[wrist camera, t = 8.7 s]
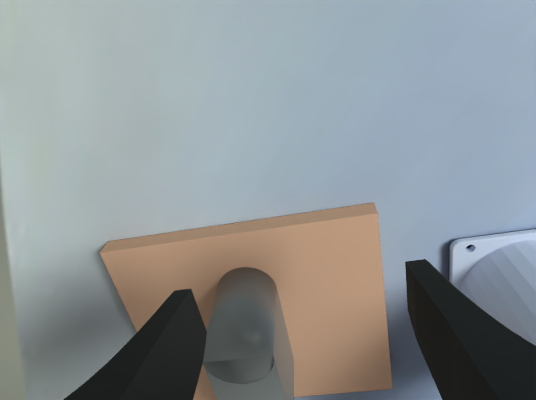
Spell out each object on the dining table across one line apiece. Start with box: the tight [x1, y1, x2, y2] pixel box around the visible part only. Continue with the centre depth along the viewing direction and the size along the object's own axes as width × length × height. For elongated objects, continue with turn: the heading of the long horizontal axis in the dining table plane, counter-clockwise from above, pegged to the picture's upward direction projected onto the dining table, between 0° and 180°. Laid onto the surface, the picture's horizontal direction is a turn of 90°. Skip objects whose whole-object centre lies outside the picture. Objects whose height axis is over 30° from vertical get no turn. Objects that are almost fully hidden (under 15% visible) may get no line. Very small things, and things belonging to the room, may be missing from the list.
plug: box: [203, 267, 294, 400], centre depth 23 cm, size 4×11×5 cm, turn 11°
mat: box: [100, 203, 393, 400], centre depth 25 cm, size 16×14×1 cm
